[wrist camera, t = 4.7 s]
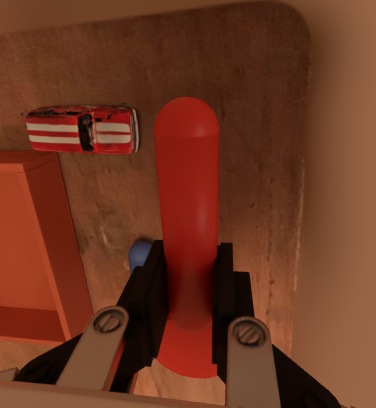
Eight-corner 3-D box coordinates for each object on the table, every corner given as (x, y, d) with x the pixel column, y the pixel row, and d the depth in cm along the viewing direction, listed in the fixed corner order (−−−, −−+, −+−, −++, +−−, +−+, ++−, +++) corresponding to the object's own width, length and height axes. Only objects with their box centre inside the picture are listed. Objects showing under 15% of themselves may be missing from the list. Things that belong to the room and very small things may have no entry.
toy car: (142, 153, 20) (128, 163, 17) (44, 148, 21) (15, 157, 18) (139, 103, 19) (124, 105, 16) (35, 99, 20) (2, 101, 17)
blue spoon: (119, 235, 24) (110, 248, 22) (168, 237, 23) (163, 251, 21) (136, 345, 29) (129, 364, 27) (175, 349, 28) (172, 369, 26)
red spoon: (130, 96, 10) (106, 100, 8) (251, 93, 9) (259, 96, 7) (159, 350, 16) (149, 389, 14) (235, 357, 15) (236, 399, 13)
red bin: (-66, 150, 22) (-122, 162, 19) (56, 150, 21) (21, 163, 17) (-3, 306, 29) (-36, 337, 26) (93, 314, 28) (73, 347, 24)
